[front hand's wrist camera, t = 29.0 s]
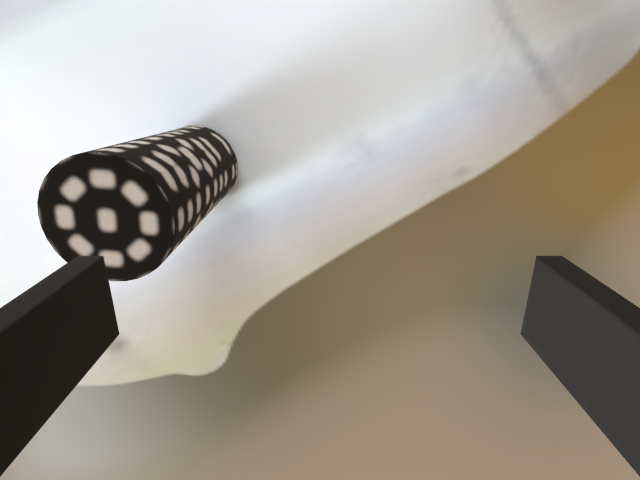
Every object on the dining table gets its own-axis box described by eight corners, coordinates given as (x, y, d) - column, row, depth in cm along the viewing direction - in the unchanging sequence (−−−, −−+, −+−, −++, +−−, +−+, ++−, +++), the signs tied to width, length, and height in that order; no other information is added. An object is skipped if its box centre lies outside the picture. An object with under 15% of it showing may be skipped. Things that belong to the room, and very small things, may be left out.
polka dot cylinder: (158, 122, 42) (26, 146, 23) (237, 129, 42) (171, 157, 23) (162, 199, 45) (48, 276, 26) (237, 205, 45) (177, 285, 26)
